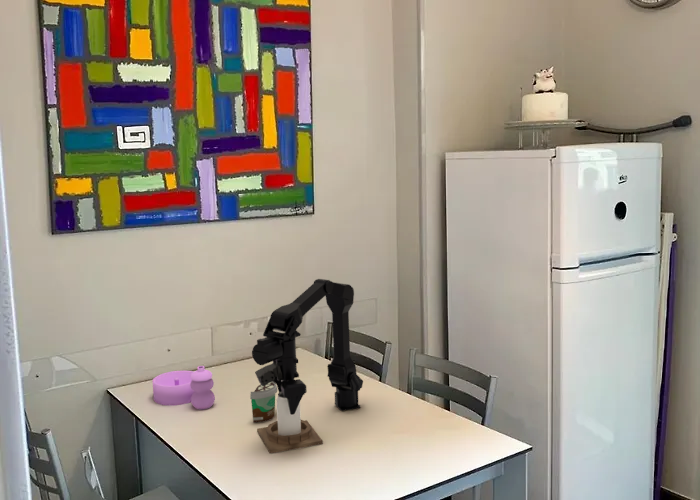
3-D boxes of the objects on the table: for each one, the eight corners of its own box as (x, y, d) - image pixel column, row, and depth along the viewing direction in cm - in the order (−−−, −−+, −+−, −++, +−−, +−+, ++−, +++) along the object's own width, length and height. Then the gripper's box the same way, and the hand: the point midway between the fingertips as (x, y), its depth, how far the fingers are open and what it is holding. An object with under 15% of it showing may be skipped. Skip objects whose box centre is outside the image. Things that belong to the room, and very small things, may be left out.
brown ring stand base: (306, 423, 209) (306, 413, 208) (322, 443, 195) (322, 433, 195) (257, 431, 204) (256, 422, 203) (269, 453, 190) (269, 443, 190)
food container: (271, 425, 208) (269, 393, 206) (251, 424, 209) (249, 392, 208) (283, 409, 220) (282, 378, 218) (264, 408, 221) (263, 377, 219)
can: (304, 430, 201) (303, 390, 199) (295, 440, 195) (293, 399, 193) (283, 428, 203) (282, 388, 201) (274, 437, 197) (272, 397, 195)
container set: (144, 398, 232) (141, 360, 230) (183, 385, 244) (180, 348, 241) (190, 417, 216) (188, 376, 214) (229, 402, 227) (227, 362, 225)
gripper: (249, 349, 201) (252, 401, 204) (265, 369, 184) (267, 425, 187) (287, 344, 205) (289, 395, 208) (306, 363, 188) (308, 418, 190)
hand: (288, 408), depth 198 cm, fingers open, 9 cm apart
